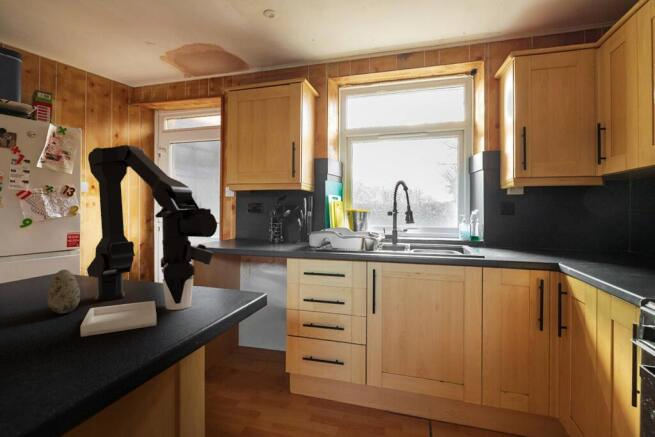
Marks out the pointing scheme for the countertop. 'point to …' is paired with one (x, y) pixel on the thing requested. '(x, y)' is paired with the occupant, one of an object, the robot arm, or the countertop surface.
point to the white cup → (184, 300)
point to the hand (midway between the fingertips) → (176, 300)
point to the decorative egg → (63, 292)
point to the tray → (119, 318)
